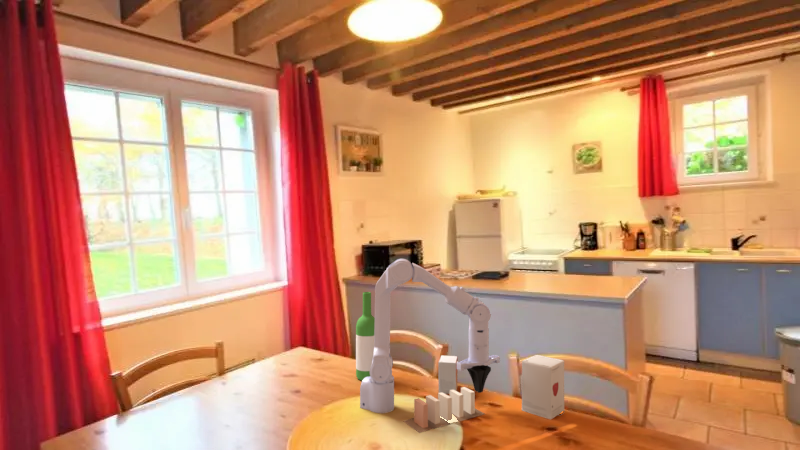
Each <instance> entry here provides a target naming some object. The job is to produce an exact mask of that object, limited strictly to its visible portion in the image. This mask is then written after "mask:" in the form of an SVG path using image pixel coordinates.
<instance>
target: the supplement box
mask: <svg viewBox="0 0 800 450" xmlns="http://www.w3.org/2000/svg"><path fill="white" fill-rule="evenodd" d="M521 411H522V412H525V413H529V414H531V415H534V416H538V417H541V418H544V419H548V420H552V419H554V418H555V417H557V416H560V415H559V414H560V413H561V412H562V411H564V412H565V360H563V359H559V358H555V357H549V356H545V355H540V354H535V355H533V356H532V355H531V356H530V357H528V358H526V359H523V360H521Z"/></svg>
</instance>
